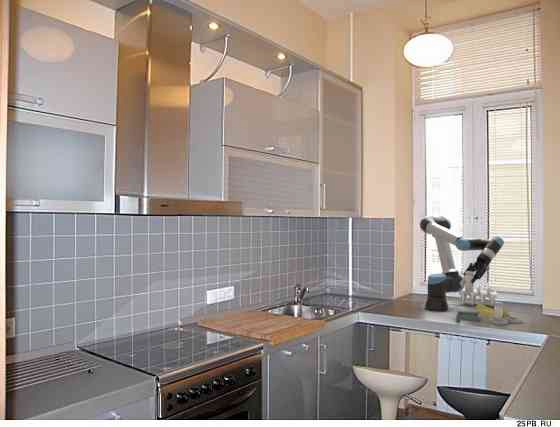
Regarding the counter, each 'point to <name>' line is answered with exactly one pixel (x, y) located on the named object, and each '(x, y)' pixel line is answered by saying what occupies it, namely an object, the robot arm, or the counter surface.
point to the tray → (467, 316)
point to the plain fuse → (498, 311)
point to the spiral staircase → (479, 294)
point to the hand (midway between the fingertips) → (464, 285)
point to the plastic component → (488, 310)
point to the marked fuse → (467, 277)
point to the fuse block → (506, 321)
